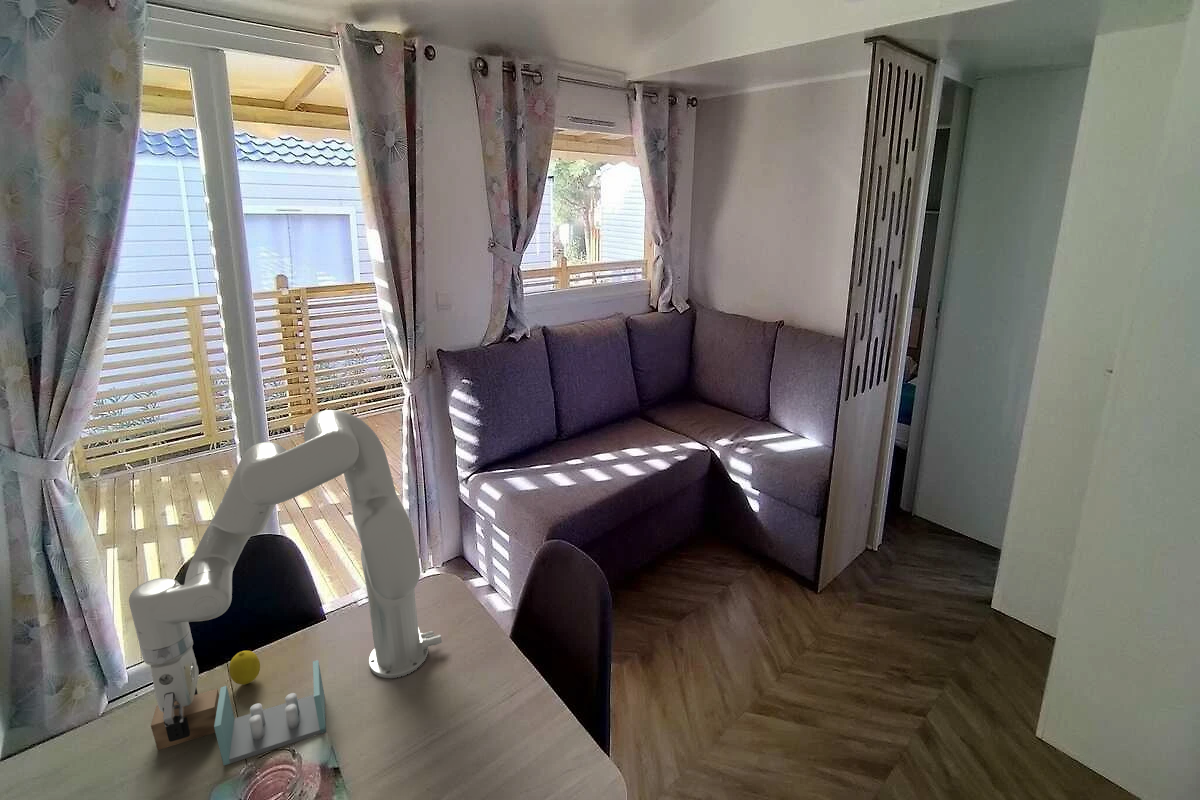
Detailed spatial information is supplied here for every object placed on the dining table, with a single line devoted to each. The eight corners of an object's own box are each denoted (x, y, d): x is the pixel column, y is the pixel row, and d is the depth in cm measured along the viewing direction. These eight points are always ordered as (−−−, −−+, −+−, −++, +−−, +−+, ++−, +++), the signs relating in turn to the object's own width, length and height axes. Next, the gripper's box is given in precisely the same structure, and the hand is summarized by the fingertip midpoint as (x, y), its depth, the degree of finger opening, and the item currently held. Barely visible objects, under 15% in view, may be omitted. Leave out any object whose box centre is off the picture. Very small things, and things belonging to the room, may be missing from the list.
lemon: (249, 695, 123) (242, 663, 120) (226, 690, 124) (219, 659, 122) (269, 675, 128) (262, 645, 126) (246, 671, 129) (240, 641, 127)
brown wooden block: (223, 712, 119) (217, 688, 117) (220, 731, 115) (214, 707, 113) (163, 730, 115) (156, 705, 113) (157, 750, 111) (150, 725, 109)
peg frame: (324, 695, 123) (318, 659, 120) (326, 731, 114) (319, 694, 112) (229, 724, 116) (220, 687, 113) (223, 765, 107) (214, 726, 105)
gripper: (183, 669, 102) (201, 746, 108) (198, 611, 117) (213, 681, 122) (130, 683, 99) (150, 762, 104) (152, 621, 114) (169, 692, 119)
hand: (184, 718), depth 113 cm, fingers open, 9 cm apart
